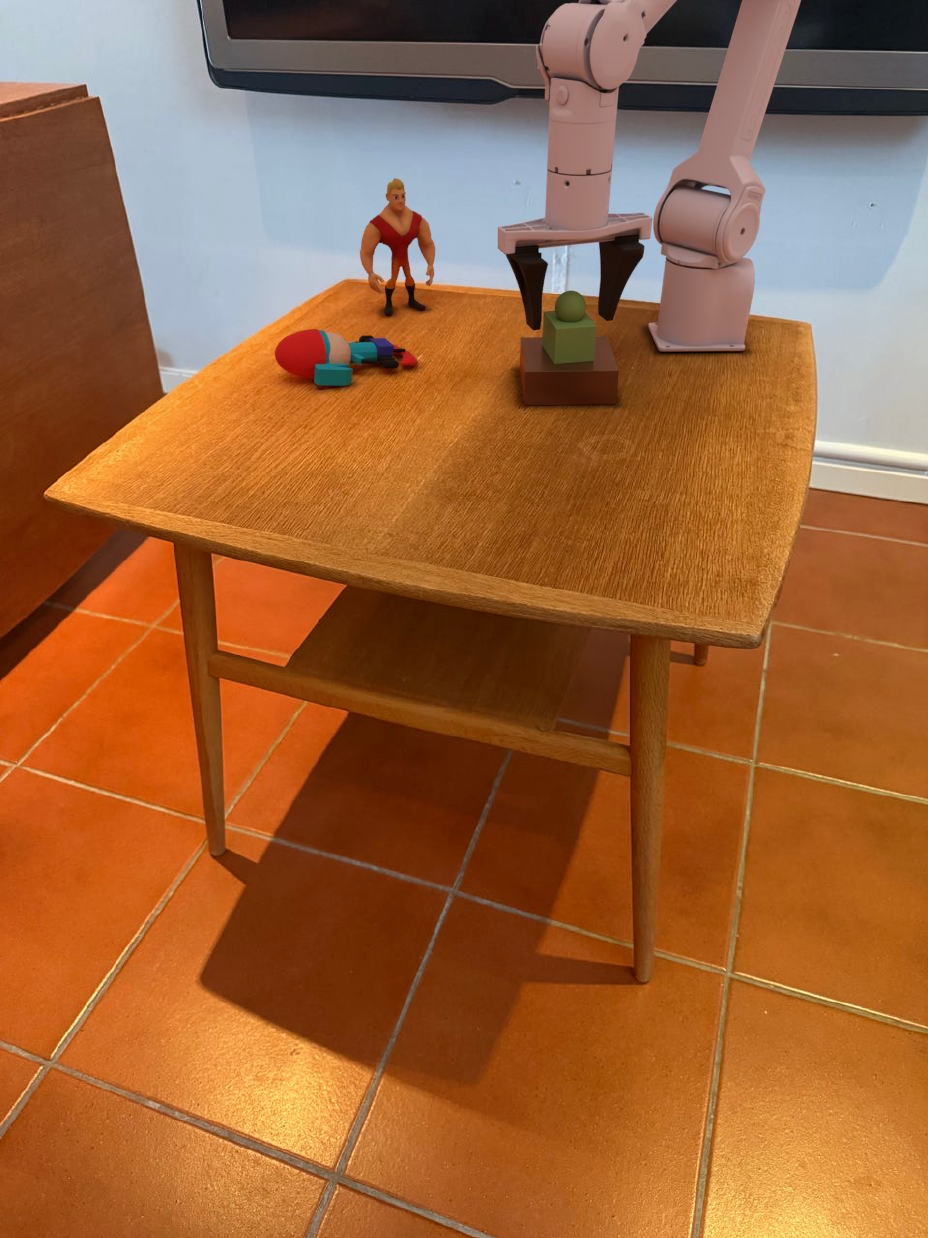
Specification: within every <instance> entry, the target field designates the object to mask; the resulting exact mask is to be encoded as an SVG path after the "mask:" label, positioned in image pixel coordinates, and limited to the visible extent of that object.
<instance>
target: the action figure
mask: <svg viewBox="0 0 928 1238" xmlns="http://www.w3.org/2000/svg"><path fill="white" fill-rule="evenodd" d="M386 186H387V187H386V188H387V189H386V193H385V199H386V201H388V203H387V205H386V206H385V207H384V208H383V209H382V211H381V212H380V213H379V214H377V215H375V217H373V218H372V219H370V220H369V222H368V223H367V225H366V226H365V228H364V231H363V234H362V237H361V241H360V242H361V244H360V250H359V258H360V259H359V260H360V262H361V266H362V268H363V270H364V271H365V272H366V274H367V275H368V277H367V281H368V282H367V283H368V286H369V287H370V289H371V290H372V291H375V292H376V293H378V294H382V293H383V292H384V295H385V305H384V309H383V313H384V315H385V316H391V315H393V313H394V310H393V307H394V306H393V294H394V291H395V290H396V284H397V281H398V278H399V274H400V270H401V269H402V272H403V275H404V278H405V279H404V287H405V289H406V291H407V295H408V300H407V305H408V306H409V307H415V308H416V309H418V310H419V311H424V310H426V306H425V304H422V303H420V302H419V301H418V300H416V299H415V290H416V283H415V279H414V278H413V276H412V274H411V267H410V261H409V247H410V245H411V244H412V243H413V241H414V240H415V239H417V245H418V248H419V251H420V253H421V255H422V256H423V258H424V260H425V262H426V264H427V268H426V272H425V275H426V276H429V279H428V280H426V281H425V285H426V286H427V287H430V286H432V284H433V282H434V277H435V268H434V263H435V258H436V246H435V242H434V240H433V239H432V231H431V228H430V224H429V222H428V221H427V219H425V218H424V217H423V216H422V214H419V213H418V212H416V211H414V210H412V209H411V208H409V207H408V206H407V205H406V201H407V197H406V191H405V184H404V182H403V181H402V180H401V179H399V178H396V177H394V178H393V179H392V181H390V182H388V184H387V185H386ZM379 244H382V245H385V246H387V247H388V248H389V249H390V252H391V261H390V262H391V264H390V265H391V266H390V267H391V269H390V270H391V271H390V274H391V275H390V279H388V280H387V281H386V284H385V286H384V289H383V287H381V285H380V283H384V282H385V280H384V278H382V276H381V275H379V274H377V273H375V272H374V255H375V253H376V249H377V247H378V246H379ZM379 282H380V283H379Z"/></svg>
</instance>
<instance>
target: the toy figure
mask: <svg viewBox="0 0 928 1238" xmlns="http://www.w3.org/2000/svg"><path fill="white" fill-rule="evenodd" d="M394 355H397V356H400V357H402V358H401V361H400V362H399V361H398V360H397V359H396V358H395V357H394ZM274 358H275V361H276V363H277V364H278V365H279V367H280V368H282V369H283V370H284V371H285V372H287V373H289V374H291V375H294V376H297V377H299V378H305V379H313V382H314V384H315V385H317V386H337V387H339V386H340V387H342V386H343V387H345V386H350V385H352V379H353V370H354V368H352V367H350V365H354V364H355V365H359V366H362V365H381V366H382V368H383V369H386V370H387V369H388V370H389V369H391V370H393V369H395V370H396V369H398V368H399V366H400V365H402V366H415V365H418V364H419V362H418V359H417V358H416V356H415V355H413V354H412V353H411V352H410V351H408V350H406V348H401V347H400V346H398V345H396V344H392V343H391V342H390V341H389V340H388V339H387V338H386V337H374V336H373V335H371V334H370V335H368V334H367V335H366V334H365V335H361V336H360V337H359V338H358V340H356V341H352V342H348V341H347V339H345V338H344V337H343V336H342V335H340V334H339V333H337V332H332V331H325V330H323V329H318V328H310V329H303V330H298V331H295V332H293V333H290V334H289V335H286V336H285V337H284V338H282V339H281V340H280V341H279V342H278V344H277V345H276V347H275V350H274Z"/></svg>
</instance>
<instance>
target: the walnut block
mask: <svg viewBox="0 0 928 1238" xmlns="http://www.w3.org/2000/svg"><path fill="white" fill-rule="evenodd" d="M542 338H543V336H533V337H531V336H530V337H526V336H525V337H524V336H523V337H520V343H519V344H520V345H519V347H520V349H519V374H520V382H521V392H522V398H523V399H522V400H523V406H584V405H585V406H593V405H595V406H598V405H599V406H601V405H606V406H607V405H616V404H617V403H616V402H617V393H618V385H619V376H620V375H619V374H620V370H619V367H618V364H617V362H616V359H615V355H614V352H613V349H612V347H611V343H610V341H609V338H608V336H596V339H595V352H594V361H589V362H576V363H564V364H554V363H553V361H552V360H551V358H550V357H549V355H548V354H547V352H546V351H545V349H544V348H543V346H542Z"/></svg>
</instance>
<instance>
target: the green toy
mask: <svg viewBox="0 0 928 1238" xmlns="http://www.w3.org/2000/svg"><path fill="white" fill-rule="evenodd" d="M554 303H555V304H554V310H545V311H543V314H542V337H543V338H542V346H543V348H544V349H545V351H546V352H547V354H548V355H549V357H550V358H551V360H552V361H553V363H554V364H564V363H576V362H589V361H594V352H595V339H596V337H597V327H598V326H597V325H596V323H595V322H594V321H593V320H592V318H591V317H590V316H589V314H587V312H586V310H587V303H586V300H585V298H584V296H583V295H582V293H580V292H579V291H576V290H566V291H563V292H562V293H561V294H559V295H558V297H557V298H556V300H555V302H554Z"/></svg>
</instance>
